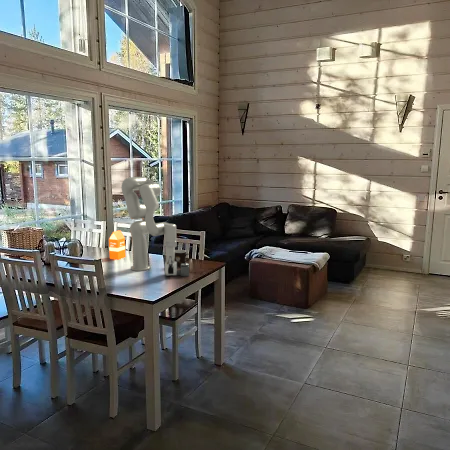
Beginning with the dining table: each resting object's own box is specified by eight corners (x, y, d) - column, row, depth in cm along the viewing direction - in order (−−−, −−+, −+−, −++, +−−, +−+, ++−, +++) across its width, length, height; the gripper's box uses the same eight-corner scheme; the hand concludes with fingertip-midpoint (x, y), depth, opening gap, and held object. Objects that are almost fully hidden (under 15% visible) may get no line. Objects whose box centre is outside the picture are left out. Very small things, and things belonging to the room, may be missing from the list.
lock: (165, 272, 256) (165, 260, 255) (176, 272, 257) (176, 260, 256) (165, 275, 251) (164, 262, 249) (176, 275, 251) (176, 262, 250)
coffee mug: (171, 265, 276) (170, 251, 274) (180, 263, 282) (180, 249, 280) (182, 268, 268) (182, 254, 266) (192, 266, 274) (192, 251, 273)
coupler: (166, 273, 257) (166, 262, 256) (189, 273, 258) (188, 262, 257) (166, 276, 250) (165, 265, 249) (189, 276, 251) (188, 265, 250)
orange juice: (109, 258, 295) (108, 231, 292) (117, 256, 303) (116, 229, 300) (118, 259, 292) (117, 232, 289) (125, 257, 300) (124, 230, 297)
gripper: (165, 241, 259) (165, 268, 262) (163, 247, 242) (164, 276, 245) (177, 241, 259) (177, 268, 262) (176, 246, 242) (176, 276, 245)
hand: (171, 271), depth 254 cm, fingers closed on lock, 6 cm apart
